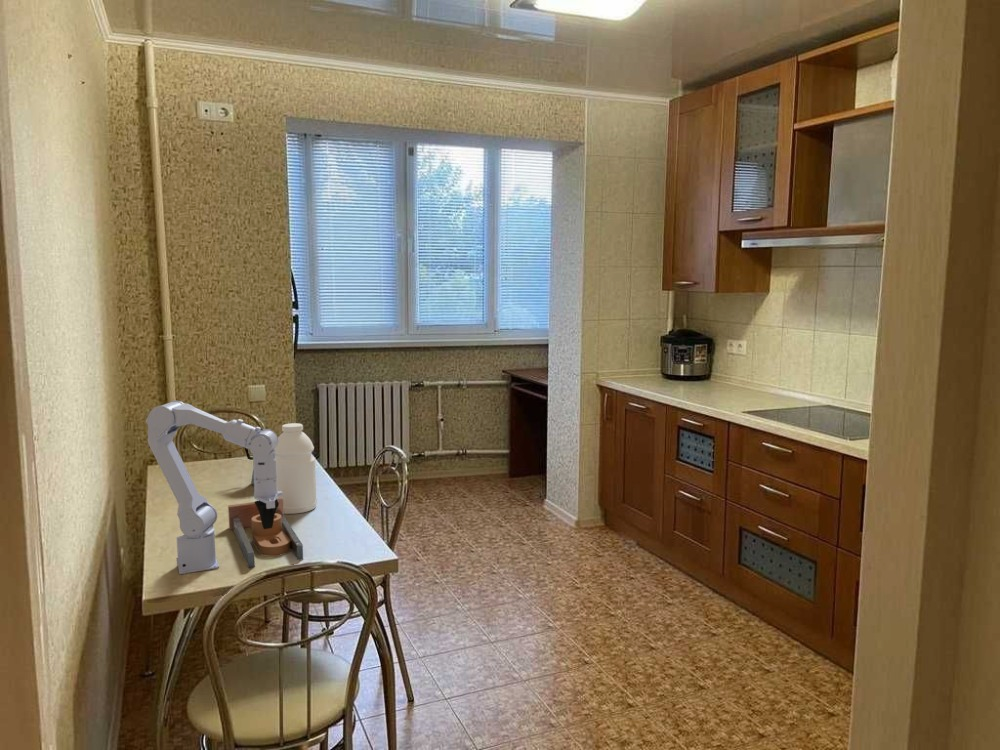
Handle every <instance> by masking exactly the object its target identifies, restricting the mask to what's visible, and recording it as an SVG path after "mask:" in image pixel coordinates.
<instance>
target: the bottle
mask: <svg viewBox="0 0 1000 750" xmlns="http://www.w3.org/2000/svg"><path fill="white" fill-rule="evenodd" d="M303 430H304V425H303V424H302V423H299V422H298V423H297V422H295V423H294V422H293V423H292V422H291V423H286V424H282V426H281V432H282V433H281V434H279V436H277V437H278V445H277V446H276V448H275V449H274V450H276V466H277V491H282V495H280V496H278V497H277V499H283V509H284V515H288V514H289V515H292V514H293V515H294V514H295V515H296V514H302V513H307V512H310V511H312V510H314V509H316V508H317V504H318V498H317V476H316V473H317V470H316V457H314V455H313V454H312V452H313V451H314V450H315V446H314V444H313V442H312V439H311V438H310V437H309V436H308V435H307V434H306V433H305V432H304V431H303ZM272 451H273V450H272Z"/></svg>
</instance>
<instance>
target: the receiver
mask: <svg viewBox="0 0 1000 750" xmlns="http://www.w3.org/2000/svg"><path fill="white" fill-rule="evenodd" d="M277 501H278V503H279V505H278V507H277V509H276V512H275V513H277V514H280V515H281V516H282V530H283V531H284V533H285V534H286V535H287V536H288V537H289V539H290V547H291V550H290V551H291V552H292V553H293V555H294V557H295V559H296V560H297V561H300V560H304V549H303V548H304V545H303V543H302V542H301V540H300V539H299V536H297V534H296V532H295V531H294V529H293V527H292V525H291V524H290V523H289V521H288V520H287V518H286V517H285V514H284V509H283V499H277ZM254 502H255V501H252V502H245V503H237V504H229V505H227V516H228V529H229V530H233V532H234V535H235V537H236V539H237V543H238V544H239V547H240V550H241V552H242V555H243V557H244V559H245V562H246V564H247V567H248V568H249V569H250V568H255V567H256V562H255V561H256V560H255V551H254V548H253V546H252V544H251V542H250V540H249V538H248V535H247V532H246V531H245V529H244V528H250V527H251V528H252V521H251V519H252V517H254V516H256V515H259V511H258V508H257V507H256V505H255V503H254Z"/></svg>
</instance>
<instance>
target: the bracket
mask: <svg viewBox="0 0 1000 750" xmlns="http://www.w3.org/2000/svg"><path fill="white" fill-rule="evenodd" d="M251 521H252V527H251V538H252V539H251V540H252V543H253V545H254V547H255V548H256V549H257V551H258V553H259V554H260V555H262V556H266V557H274V556H275V557H276V556H281V555H285V554H288V553H289V552H290V551H292V550H291V547H290V539H289V537H288V536H287V535H286V534H285V533H284V531H283V530H282V516H281V515H280V514H277V513H275V515H274V521H273V526H272V528H269V529H264V528H263V526H262V522H261V518H260V514H259V515H256V516H254V517H252V519H251Z"/></svg>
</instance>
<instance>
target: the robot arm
mask: <svg viewBox="0 0 1000 750" xmlns="http://www.w3.org/2000/svg"><path fill="white" fill-rule="evenodd" d="M145 423H146V425H147V444H148V446H149V448H150V450H151V452H152V454H153V456H154V458H155V460H156V462H157V464H158V466H159V468H160V470H161V472H162V474H163V476H164V477H165V480H166V482H167V484H168V487H169V488H170V490H171V492H172V494H173V496H174V497H175V499H176V502H177V503H178V507H177V514H176V515H177V517H178V519H179V528H180V531H181V532H182V534H181V535H179V536H178V535H177V536H176V552H177V557H176V565H177V567H178V573H179V574H180V575H184V574H191V573H196V572H203V571H208V570H214V569H218V568H220V565H219V562H218V559H217V557H216V555H217V554H216V539H215V538H216V537H215V527H214V524H215V523H216V521H217V519H218V512H217V510H216V508H215V507H214V506H213V505H212V504H210V503H209V501H208V499H207V497H205V496H203V495H201V494H200V493H199V491H198V489H197V488H196V485H195V483H194V481H193V479H192V477H191V476H190V474H189V472H188V469H187V467H186V465H185V463H184V461H183V459H182V457H181V455H180V453H179V451H178V448H177V447H176V445H175V443H174V441H173V440H174V438H175V436H176V434H177V431H178V429H179V428H180V427H183V426H187V425H193V426H196V427H200V428H202V429H203V428H204V429H207V430H210V431H211V432H215V433H218V434H221V435H222V437H223V439H224V441H226V442H229V443H232V444H235V445H237V446H240V447H243V448H244V449H245V448H247V449H248V450H249V451H250V452H251V454H252V457H253V460H252V463H253V468H252V471H253V470H254V485H253V491H254V494H253V499H254V500H256V501H253V502H254V503H255V505H256V507H257V508H258V511H259V514H260V518H261V522H262V526H263V528H264V529H269V528H272V526H273V521H274V515H275V512H276V509H277V507H278V505H279V503H278V501H277V497H278V496H280V495H282V491H277V466H276V450H274V449H275V448H276V446H277V445H278V437H279V436H278V435H277V433H276V432H274V431H273V430H272V429H270V428H265V429H262V428H261V427H260V426H252V425H250V424H247V423H245V422H244V420H243V419H242V418H238V419H231V420H230V421H227V420H225V419H222V418H219V417H218V416H215V415H213V414H210V413H209V412H206V411H203V410H201V409H199V408H197V407H195V406H193V405H192V404H190V403H186V402H185V403H184V402H183V401H180V400H171V401H169V402H168V403H164V404H163V405H162V404H161V405H158V406H155V407H153V408H152V409H151V410H150V412H149V414H148V415H147V417H146V420H145ZM261 429H262V430H261ZM272 450H273V451H272Z"/></svg>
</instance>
